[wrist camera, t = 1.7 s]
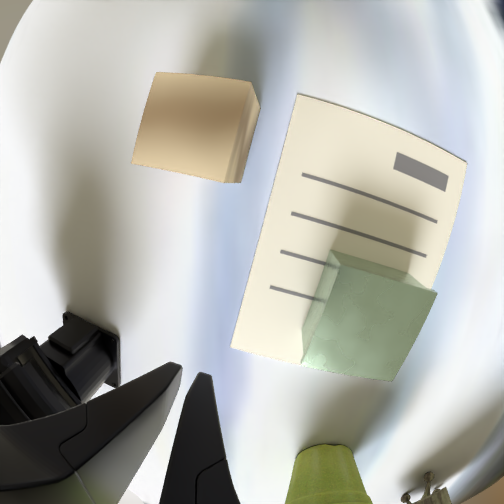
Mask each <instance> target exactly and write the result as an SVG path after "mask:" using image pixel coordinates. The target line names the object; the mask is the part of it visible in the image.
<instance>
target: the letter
mask: <svg viewBox="0 0 504 504" xmlns="http://www.w3.org/2000/svg"><path fill="white" fill-rule="evenodd" d="M466 168H467V163H466V162H464V161H462V160H460V159H459V158H457V157H455V156H453V155H452V154H450V153H448V152H446V151H444V150H442V149H440V148H438V147H437V146H435V145H433V144H431V143H429V142H427V141H425V140H423V139H420V138H418V137H416V136H414V135H412V134H410V133H407V132H405V131H403V130H401V129H398V128H396V127H394V126H391V125H389V124H387V123H384V122H382V121H379V120H376V119H374V118H371V117H369V116H366V115H363V114H360V113H358V112H355V111H352V110H349V109H346V108H343V107H340V106H337V105H334V104H330V103H327V102H324V101H320V100H317V99H313V98H310V97H306V96H302V95H298V94H297V98H296V101H295V105H294V109H293V113H292V117H291V120H290V124H289V128H288V132H287V136H286V139H285V143H284V147H283V151H282V155H281V158H280V162H279V166H278V170H277V174H276V177H275V181H274V185H273V189H272V192H271V196H270V200H269V204H268V207H267V211H266V215H265V219H264V223H263V226H262V230H261V234H260V238H259V241H258V245H257V249H256V252H255V256H254V260H253V264H252V267H251V271H250V275H249V279H248V282H247V286H246V290H245V293H244V297H243V301H242V305H241V308H240V312H239V316H238V319H237V323H236V327H235V331H234V334H233V338H232V342H231V345H230V347H231V348H235V349H238V350H242V351H245V352H249V353H253V354H256V355H260V356H264V357H268V358H272V359H276V360H280V361H284V362H289V363H293V364H297V365H301V358H302V356H303V343H302V327H303V325H304V322H305V319H306V317H307V314H308V311H309V309H310V306H311V303H312V301H313V298H314V295H315V292H316V289H317V286H318V284H319V281H320V278H321V275H322V272H323V269H324V266H325V263H326V260H327V257H328V254H329V251H330V249H331V250H334V251H338V252H341V253H344V254H348V255H351V256H355V257H358V258H361V259H364V260H368V261H371V262H374V263H378V264H381V265H384V266H387V267H391V268H394V269H397V270H400V271H404V272H407V273H409V274H410V275H411V276H413V277H414V278H415V279H416V280H417V281H419V282H420V283H421V284H422V285H423V286H425V287H426V288H429V289H431V288H432V285H433V283H434V280H435V278H436V275H437V273H438V270H439V267H440V264H441V262H442V259H443V256H444V253H445V250H446V247H447V244H448V241H449V238H450V234H451V231H452V227H453V224H454V220H455V217H456V213H457V209H458V205H459V201H460V197H461V193H462V188H463V183H464V178H465V173H466Z"/></svg>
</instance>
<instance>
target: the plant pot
mask: <svg viewBox="0 0 504 504" xmlns="http://www.w3.org/2000/svg"><path fill="white" fill-rule="evenodd" d="M285 504H373V503H372V501H371V499H370V497H369V496H368V495H367V494H366V491H365V488H364V485H363V482H362V480H361V477H360V474H359V471H358V468H357V465H356V463H355V460H354V457H353V454H352V451H351V450H350V449H349V448H348V447H346V446H343V445H337V446H332V445H327V444H322V445H317V446H313V447H310V448H308V449H306V450H304V451H302V452H301V453H299V455H298V456H297V458H296V460H295V462H294V467H293V472H292V477H291V481H290V485H289V489H288V493H287V497H286V501H285Z"/></svg>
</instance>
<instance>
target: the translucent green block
mask: <svg viewBox="0 0 504 504" xmlns="http://www.w3.org/2000/svg"><path fill="white" fill-rule="evenodd" d="M436 296H437V292H435V291H434V290H432V289H429V288H426V287H425V286H423V285H422V284H421V283H420V282H419V281H417V280H416V279H415V278H414V277H413V276H411V275H410V274H409V273H407V272H404V271H400V270H397V269H394V268H391V267H387V266H384V265H381V264H378V263H374V262H371V261H368V260H364V259H361V258H358V257H355V256H351V255H348V254H344V253H341V252H338V251H334V250H331V249H330V251H329V254H328V257H327V260H326V263H325V266H324V269H323V272H322V275H321V278H320V281H319V284H318V286H317V289H316V292H315V295H314V298H313V301H312V303H311V306H310V309H309V311H308V314H307V317H306V319H305V322H304V325H303V327H302V343H303V356H302V358H301V366H304V367H309V368H314V369H318V370H323V371H329V372H334V373H339V374H345V375H351V376H357V377H363V378H370V379H376V380H384V381H393V379H394V377H395V376H396V374H397V372H398V371H399V369H400V367H401V366H402V364H403V362H404V360H405V359H406V357H407V355H408V353H409V351H410V350H411V348H412V346H413V344H414V342H415V340H416V338H417V336H418V334H419V332H420V330H421V328H422V326H423V324H424V322H425V320H426V318H427V316H428V314H429V312H430V309H431V307H432V305H433V303H434V300H435V298H436Z"/></svg>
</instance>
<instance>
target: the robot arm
mask: <svg viewBox="0 0 504 504" xmlns="http://www.w3.org/2000/svg"><path fill="white" fill-rule="evenodd" d="M37 342H38V341H37V340H36V338H35V336H33V337H32V338H30V339H28V338H26V337H25V336H24V335H21V336H19V337H18V338H17V339H15V340H14V341H12V342H11V343H9V344H7V345H6V346H4V347H2V348H0V504H118V502H119V501H120V499H121V497H122V496H123V494H124V492H125V491H126V489H127V487H128V486H129V484H130V482H131V481H132V479H133V477H134V476H135V474H136V472H137V471H138V469H139V467H140V466H141V464H142V462H143V461H144V459H145V457H146V456H147V454H148V452H149V451H150V449H151V447H152V445H153V444H154V442H155V440H156V439H157V437H158V435H159V434H160V432H161V430H162V428H163V426H164V424H165V422H166V419H167V417H168V415H169V412H170V410H171V407H172V405H173V402H174V400H175V397H176V395H177V392H178V390H179V387H180V382H181V376H182V369H183V368H182V366H181V365H179V364H176V363H174V362H168V363H166V364H164V365H162V366H160V367H158V368H156V369H154V370H152V371H150V372H148V373H146V374H144V375H142V376H140V377H138V378H136V379H134V380H132V381H130V382H128V383H126V384H124V385H122V386H120V362H119V338H118V337H117V336H116V335H115V334H113V333H111V332H108V331H106V330H104V329H102V328H100V327H98V326H96V325H93V324H91V323H89V322H87V321H85V320H83V319H81V318H79V317H77V316H76V315H74V314H72V313H70V312H67V311H66V312H65V313H63V326H62V327H60V328H59V329H58V330H56V331H55V332H54V333H52V334H51V335H49V337H48V340H47V341H46V342H44V343H43V344H42V345H40V346H39V344H38V343H37ZM103 383H106V384H108V385H110V386H112V387H114V388H115V389H113V390H111V391H109V392H107V393H105V394H103V395H100V396H98V397H96V398H94V399H91V397H92V396H93V395H94V394H95V393H96V391H97V390H98V389H99V388H100V387H101V386H102V384H103ZM119 386H120V387H119ZM90 399H91V400H90ZM159 504H240V502H239V499H238V497H237V494H236V491H235V489H234V486H233V482H232V479H231V475H230V471H229V467H228V462H227V460H226V453H225V448H224V443H223V438H222V433H221V427H220V422H219V416H218V411H217V405H216V399H215V393H214V386H213V380H212V376H211V375H209V374H206V373H203V372H199V373H198V374H197V376H196V378H195V380H194V382H193V383H192V385H191V387H190V389H189V391H188V393H187V395H186V397H185V400H184V404H183V408H182V412H181V415H180V419H179V423H178V427H177V431H176V435H175V439H174V443H173V447H172V451H171V455H170V459H169V464H168V468H167V472H166V476H165V480H164V485H163V489H162V493H161V498H160V502H159Z"/></svg>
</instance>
